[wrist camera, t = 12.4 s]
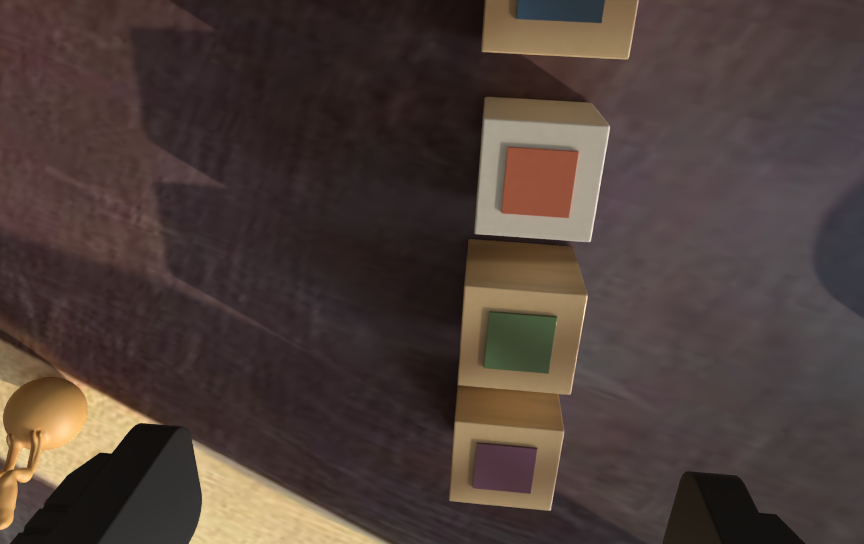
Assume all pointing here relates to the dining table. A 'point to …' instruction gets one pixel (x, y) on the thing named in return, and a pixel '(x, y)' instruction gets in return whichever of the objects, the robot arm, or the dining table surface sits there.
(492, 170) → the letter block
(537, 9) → the block row
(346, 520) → the dining table surface
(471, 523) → the dining table surface
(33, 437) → the figurine
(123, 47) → the dining table surface
